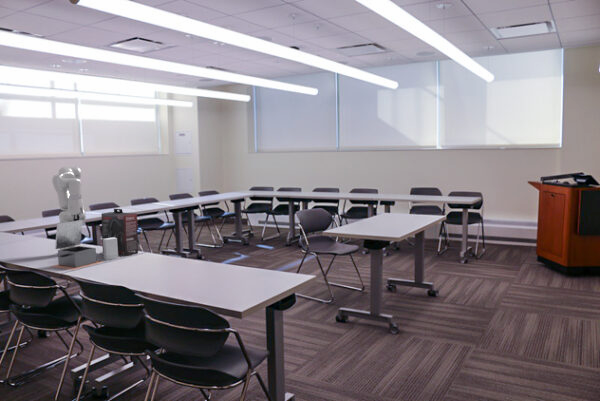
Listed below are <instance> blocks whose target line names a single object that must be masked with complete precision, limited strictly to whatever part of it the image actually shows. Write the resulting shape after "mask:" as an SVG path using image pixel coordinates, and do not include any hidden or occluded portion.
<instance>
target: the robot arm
mask: <svg viewBox="0 0 600 401" xmlns="http://www.w3.org/2000/svg"><path fill="white" fill-rule="evenodd" d="M81 177H82V170H81V168H80V167H79V166H78V167H77V166H63V167H60V169H59V170H58V174H55V175H53V176H52V181H51V182H52V186H53V188H54V190H55V192H56V195H57V198H58V199H57V200H58V205H59V208H60V210H61V211H60V213H59V214H58V218H59V219H58V220H59V223H63V222H70V221H76V220H83V222H82V223H85V222H86V220H87V218H86V216H87V215H86V212H85V205H84V201H83V198H82V180H81ZM72 247H77V245H75V246H70V247H65V248H60V249H59V250H62V249H67V248H72Z"/></svg>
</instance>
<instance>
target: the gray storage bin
mask: <svg viewBox="0 0 600 401" xmlns="http://www.w3.org/2000/svg"><path fill="white" fill-rule="evenodd" d="M57 256H58V258H57V259H58V260H57V261H58V264H59V266H66V267H72V268H78V267H82V266H86V265H90V264H94V263H96V261H97V248H96V247H89V246H83V245H82V246H81V245H76V247H72V248H67V249H62V250H60V249H57ZM94 265H95V264H94ZM90 266H91V265H90Z"/></svg>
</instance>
